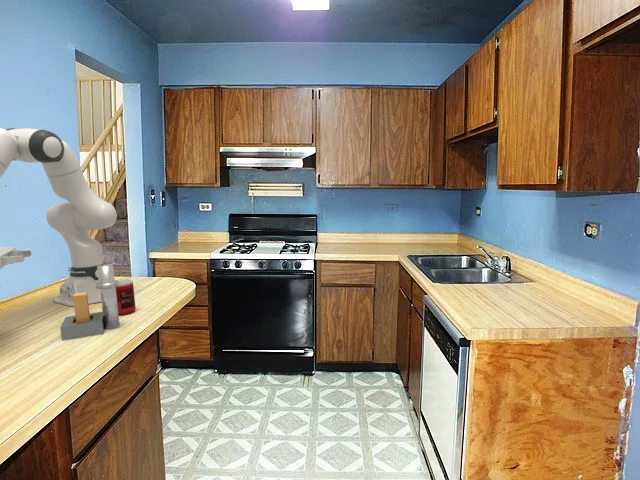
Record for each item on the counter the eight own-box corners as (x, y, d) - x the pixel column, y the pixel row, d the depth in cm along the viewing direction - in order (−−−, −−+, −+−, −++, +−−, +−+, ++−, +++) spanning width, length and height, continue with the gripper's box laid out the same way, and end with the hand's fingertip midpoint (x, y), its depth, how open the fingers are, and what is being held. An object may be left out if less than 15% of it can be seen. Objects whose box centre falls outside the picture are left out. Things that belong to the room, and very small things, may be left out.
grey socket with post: (61, 340, 124) (53, 274, 121) (67, 329, 134) (58, 267, 131) (122, 330, 131) (115, 267, 128) (123, 320, 141) (116, 261, 138)
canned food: (116, 310, 153) (113, 280, 151) (139, 308, 153) (136, 279, 152) (107, 316, 145) (104, 285, 144) (131, 315, 146) (128, 284, 144)
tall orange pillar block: (77, 334, 129) (72, 296, 127) (79, 330, 132) (74, 293, 130) (90, 332, 130) (85, 294, 129) (91, 328, 134) (87, 291, 132)
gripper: (-48, 256, 107) (17, 250, 113) (-22, 245, 126) (33, 240, 131) (-44, 280, 108) (20, 273, 114) (-19, 265, 127) (35, 260, 132)
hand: (27, 255), depth 123 cm, fingers open, 8 cm apart
